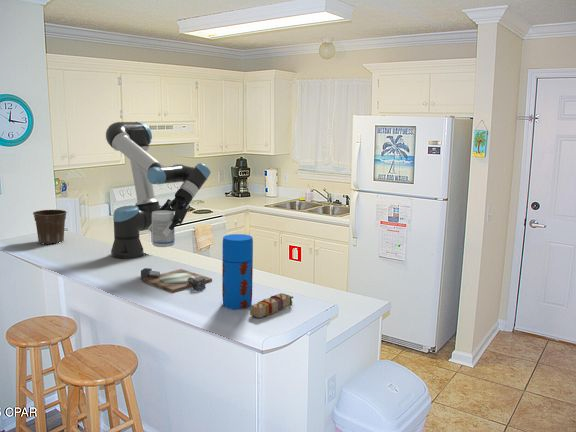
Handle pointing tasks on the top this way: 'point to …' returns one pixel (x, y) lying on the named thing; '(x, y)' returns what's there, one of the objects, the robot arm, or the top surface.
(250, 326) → the top surface
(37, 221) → the plant pot
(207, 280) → the board
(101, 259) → the top surface
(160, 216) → the supplement tub
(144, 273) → the shaft
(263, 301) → the skewer
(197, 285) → the shaft
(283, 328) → the top surface
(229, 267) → the thermos
